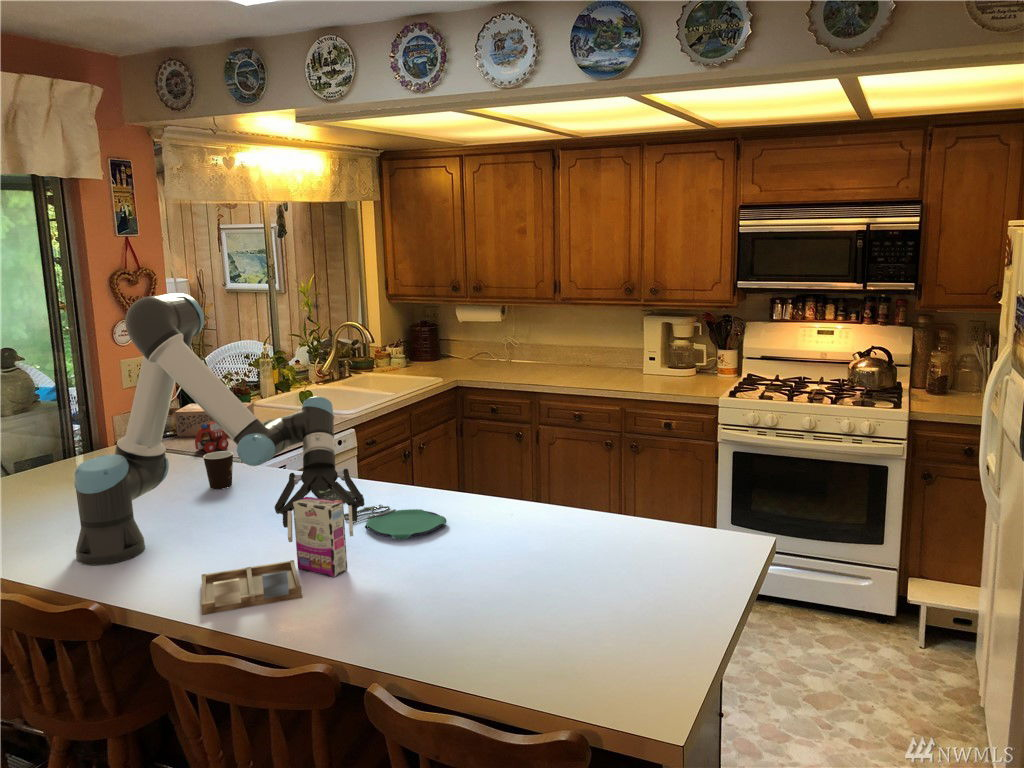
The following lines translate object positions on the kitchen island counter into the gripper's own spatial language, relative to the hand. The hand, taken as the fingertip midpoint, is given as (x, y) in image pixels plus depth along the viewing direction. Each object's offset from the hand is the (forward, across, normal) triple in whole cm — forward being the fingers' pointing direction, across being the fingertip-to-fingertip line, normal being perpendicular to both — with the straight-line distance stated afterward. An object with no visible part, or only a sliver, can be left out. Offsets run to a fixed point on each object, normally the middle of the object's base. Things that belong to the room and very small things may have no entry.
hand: (320, 536), depth 182 cm
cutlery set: (-13, +17, +26) cm, 34 cm away
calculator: (-31, +2, +44) cm, 54 cm away
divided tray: (+10, -15, +1) cm, 18 cm away
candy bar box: (+5, 0, +7) cm, 9 cm away
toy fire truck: (-79, -44, +90) cm, 127 cm away
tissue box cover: (-100, -47, +112) cm, 157 cm away
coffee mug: (-47, -33, +59) cm, 82 cm away
